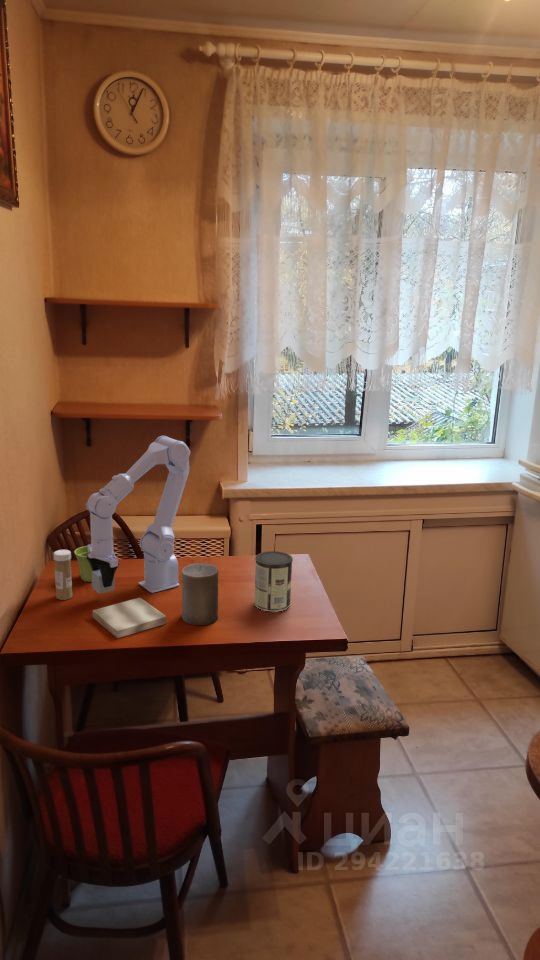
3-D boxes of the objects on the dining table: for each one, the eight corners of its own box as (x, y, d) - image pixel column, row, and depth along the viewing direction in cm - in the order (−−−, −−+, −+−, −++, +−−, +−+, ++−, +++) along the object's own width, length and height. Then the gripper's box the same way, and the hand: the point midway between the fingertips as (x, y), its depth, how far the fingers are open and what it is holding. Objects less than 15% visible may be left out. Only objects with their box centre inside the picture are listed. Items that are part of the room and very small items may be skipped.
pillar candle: (225, 618, 182) (226, 565, 178) (197, 629, 175) (197, 575, 171) (202, 606, 188) (202, 555, 185) (173, 617, 182) (173, 564, 178)
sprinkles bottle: (74, 598, 190) (73, 553, 187) (58, 601, 188) (56, 556, 184) (69, 592, 194) (67, 547, 190) (53, 595, 191) (51, 550, 188)
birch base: (140, 604, 188) (139, 597, 188) (166, 623, 178) (166, 616, 177) (92, 617, 179) (92, 610, 179) (117, 638, 169) (117, 631, 169)
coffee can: (271, 593, 198) (273, 548, 195) (297, 605, 191) (300, 558, 188) (246, 604, 191) (247, 556, 187) (273, 616, 184) (275, 567, 180)
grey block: (107, 584, 192) (106, 567, 191) (114, 589, 189) (114, 572, 187) (92, 587, 189) (91, 571, 188) (99, 593, 186) (98, 576, 184)
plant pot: (82, 570, 209) (82, 544, 207) (112, 573, 208) (111, 546, 206) (70, 582, 200) (69, 555, 198) (100, 585, 199) (100, 557, 197)
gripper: (76, 532, 188) (78, 577, 191) (100, 547, 177) (101, 595, 181) (100, 527, 192) (101, 572, 196) (124, 542, 181) (125, 589, 185)
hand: (103, 583), depth 188 cm, fingers closed on grey block, 5 cm apart
